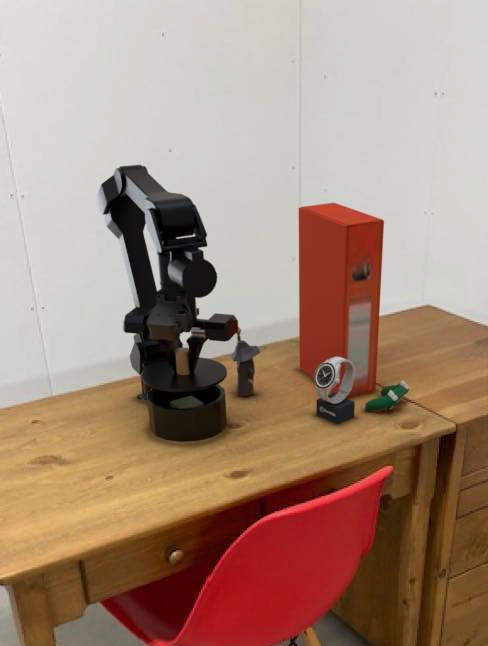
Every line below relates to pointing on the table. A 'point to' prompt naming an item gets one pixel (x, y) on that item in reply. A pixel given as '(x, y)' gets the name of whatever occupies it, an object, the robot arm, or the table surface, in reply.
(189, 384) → the lid
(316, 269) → the file binder
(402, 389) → the green toy shoe
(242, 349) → the wizard figurine
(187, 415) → the pot
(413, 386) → the table surface
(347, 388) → the watch
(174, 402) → the block
